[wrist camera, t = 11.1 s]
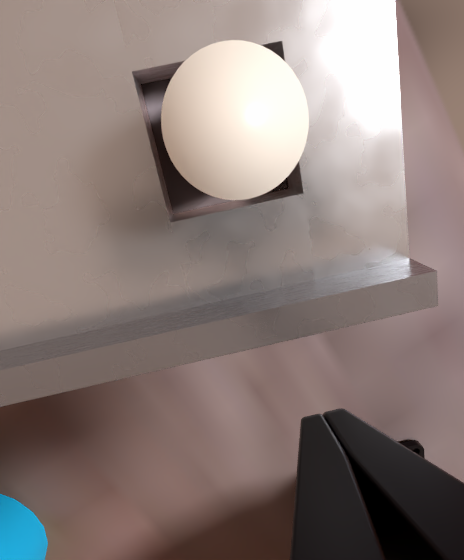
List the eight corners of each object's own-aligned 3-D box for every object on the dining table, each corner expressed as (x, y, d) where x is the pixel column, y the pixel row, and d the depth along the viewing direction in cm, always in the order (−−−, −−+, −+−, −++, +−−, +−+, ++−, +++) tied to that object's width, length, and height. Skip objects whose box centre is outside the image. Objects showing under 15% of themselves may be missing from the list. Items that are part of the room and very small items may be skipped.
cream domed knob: (270, 174, 18) (317, 183, 11) (185, 192, 18) (181, 213, 11) (254, 79, 16) (297, 26, 10) (162, 98, 16) (143, 57, 10)
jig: (384, 273, 20) (438, 305, 15) (-4, 362, 19) (-60, 420, 15) (354, -118, 15) (420, -230, 10) (-175, -15, 14) (-334, -91, 10)
